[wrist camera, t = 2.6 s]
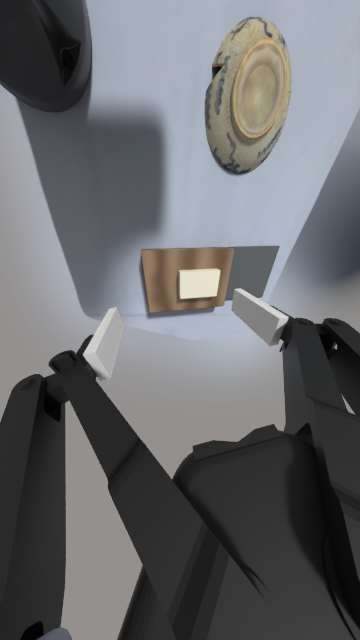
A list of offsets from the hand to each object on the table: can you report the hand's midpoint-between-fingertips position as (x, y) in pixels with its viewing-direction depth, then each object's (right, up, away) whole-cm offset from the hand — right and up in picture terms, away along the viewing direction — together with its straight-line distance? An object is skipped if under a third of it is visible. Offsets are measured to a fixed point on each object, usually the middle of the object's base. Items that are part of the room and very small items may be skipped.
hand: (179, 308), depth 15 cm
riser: (+1, +10, +20) cm, 22 cm away
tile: (+4, +8, +17) cm, 19 cm away
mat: (+19, +11, +23) cm, 31 cm away
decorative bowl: (+11, +34, +7) cm, 36 cm away
